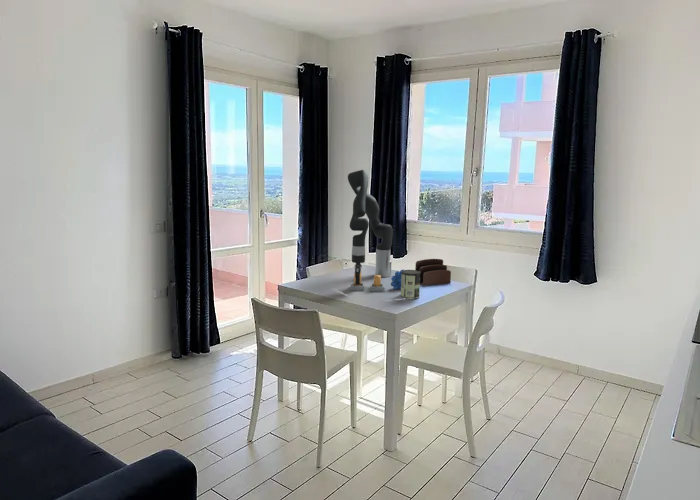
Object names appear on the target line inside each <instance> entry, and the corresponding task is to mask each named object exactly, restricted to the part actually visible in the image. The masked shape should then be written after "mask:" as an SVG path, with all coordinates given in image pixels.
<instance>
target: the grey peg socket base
mask: <svg viewBox="0 0 700 500" xmlns="http://www.w3.org/2000/svg"><path fill="white" fill-rule="evenodd" d="M365 284H366V283H365V282H361V286H354V282H350V286H349V289H348V291H349V292H365V293H386V287H385V284H384V283H381V287H378V286H374V282H373V283H370V286H365Z"/></svg>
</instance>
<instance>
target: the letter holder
mask: <svg viewBox="0 0 700 500" xmlns="http://www.w3.org/2000/svg"><path fill="white" fill-rule="evenodd" d="M414 270H417V271H420V272H421V273H420V285H421V286H433V285H432V284H434V285H441V284H443V285H444V283H445V284H451V283H452V282H451V281H452V280H451V278H452V271H450V270H449V269H448V266H447V265H446V264H444V260H443V259H441V258H427V259H425V258H424V259H420V260H417V261H416V262H415V269H414Z"/></svg>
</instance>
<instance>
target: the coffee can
mask: <svg viewBox="0 0 700 500" xmlns="http://www.w3.org/2000/svg"><path fill="white" fill-rule="evenodd" d="M402 270H403V271H401V270H400V271H401V273H402V276H401V289H400V296H401V297H402V298H403V299H404V298H406V300H415V299H414V298H418V299H419V298H420V287H421V286H420V285H421V284H420V273H421V272H420V271H417V270H415V269H402Z"/></svg>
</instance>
